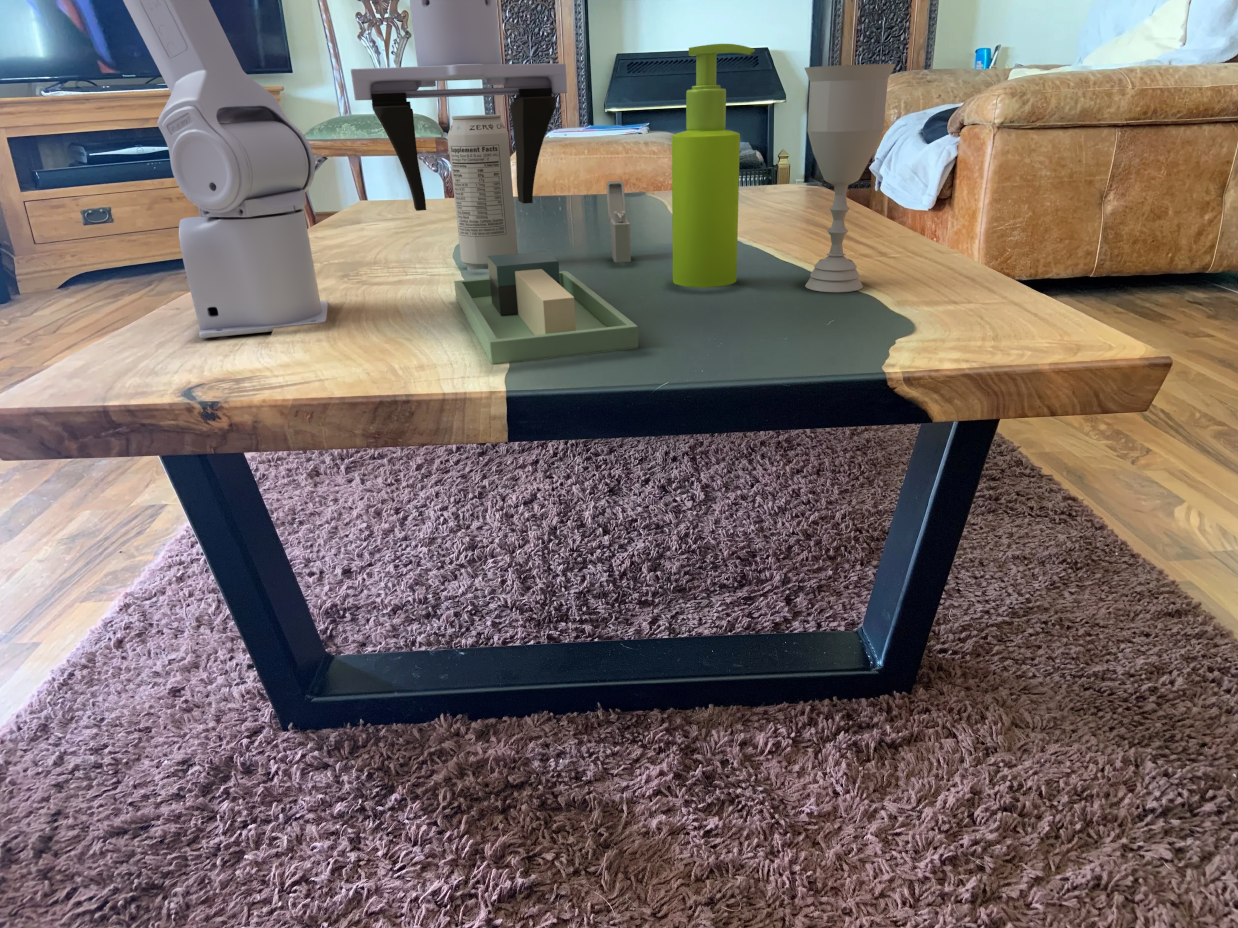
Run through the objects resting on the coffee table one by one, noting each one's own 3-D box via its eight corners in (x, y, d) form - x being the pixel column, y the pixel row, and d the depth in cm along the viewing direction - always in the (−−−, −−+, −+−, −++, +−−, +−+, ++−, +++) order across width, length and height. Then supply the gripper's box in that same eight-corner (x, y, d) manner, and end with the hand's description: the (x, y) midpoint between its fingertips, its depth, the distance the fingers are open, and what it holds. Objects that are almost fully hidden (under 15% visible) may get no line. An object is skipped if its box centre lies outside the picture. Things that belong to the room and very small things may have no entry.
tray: (639, 354, 58) (638, 326, 57) (492, 371, 55) (489, 342, 54) (568, 292, 76) (567, 270, 75) (456, 303, 74) (454, 281, 73)
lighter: (631, 266, 87) (629, 186, 84) (614, 267, 87) (612, 186, 84) (624, 254, 94) (621, 179, 90) (608, 255, 93) (606, 180, 90)
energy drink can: (527, 263, 91) (516, 114, 84) (504, 274, 85) (491, 115, 79) (477, 262, 92) (462, 115, 86) (451, 272, 87) (434, 117, 81)
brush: (596, 344, 58) (594, 288, 57) (526, 352, 57) (521, 294, 55) (548, 297, 72) (545, 251, 71) (491, 303, 71) (487, 256, 70)
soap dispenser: (745, 292, 74) (752, 41, 66) (668, 292, 75) (666, 45, 67) (749, 279, 79) (756, 44, 71) (677, 278, 80) (676, 48, 72)
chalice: (868, 278, 78) (887, 65, 71) (882, 294, 72) (904, 63, 64) (789, 278, 79) (800, 68, 71) (796, 295, 73) (808, 66, 65)
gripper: (338, -14, 50) (372, 219, 56) (572, -14, 54) (583, 204, 59) (339, -1, 56) (370, 207, 62) (549, -2, 60) (561, 195, 65)
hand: (473, 205), depth 61 cm, fingers open, 7 cm apart
